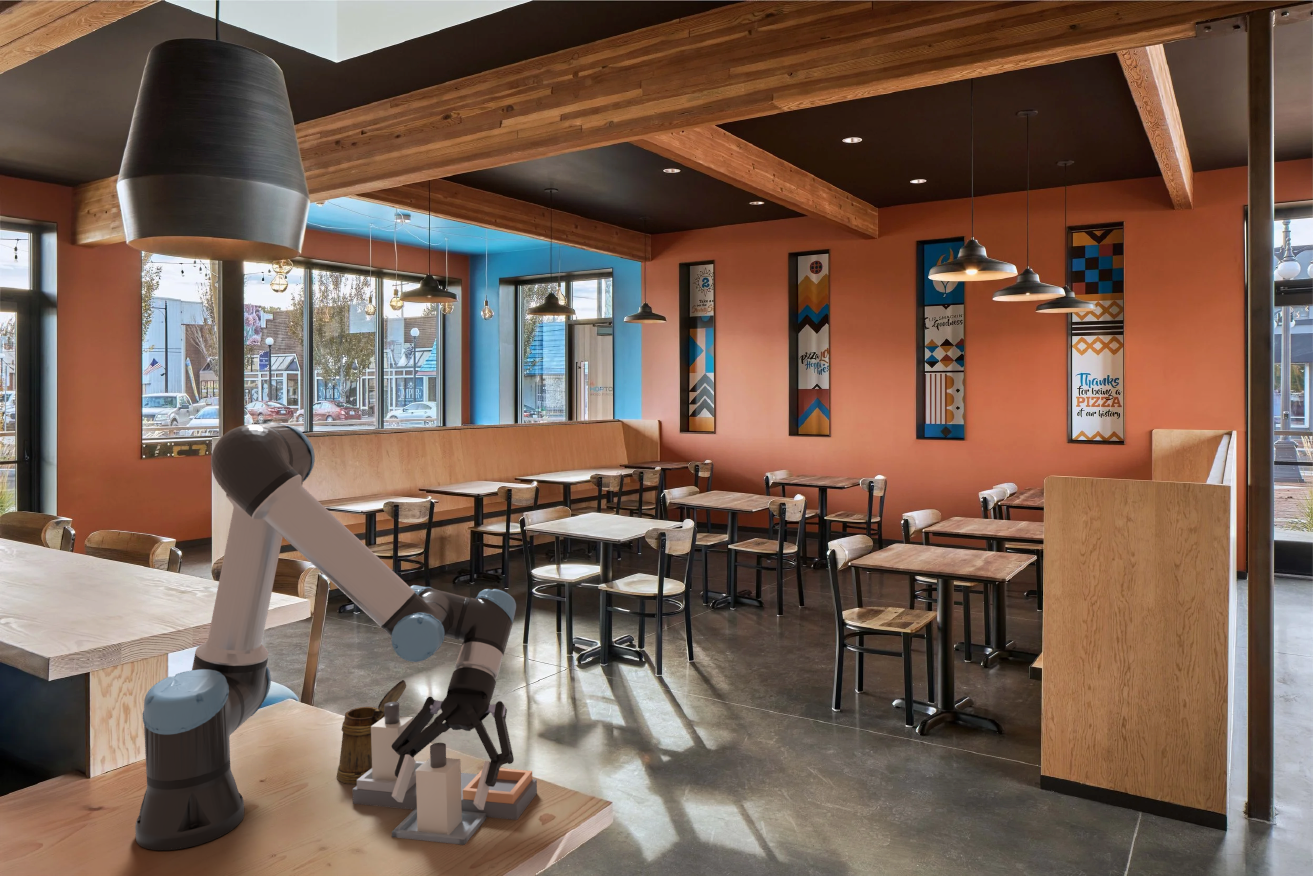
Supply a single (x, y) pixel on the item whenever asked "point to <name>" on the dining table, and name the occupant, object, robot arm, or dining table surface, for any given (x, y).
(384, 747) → the twin plug
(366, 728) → the wooden mug
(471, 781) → the grey base
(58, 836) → the dining table surface
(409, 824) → the tray
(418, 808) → the bottle
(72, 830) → the dining table surface
